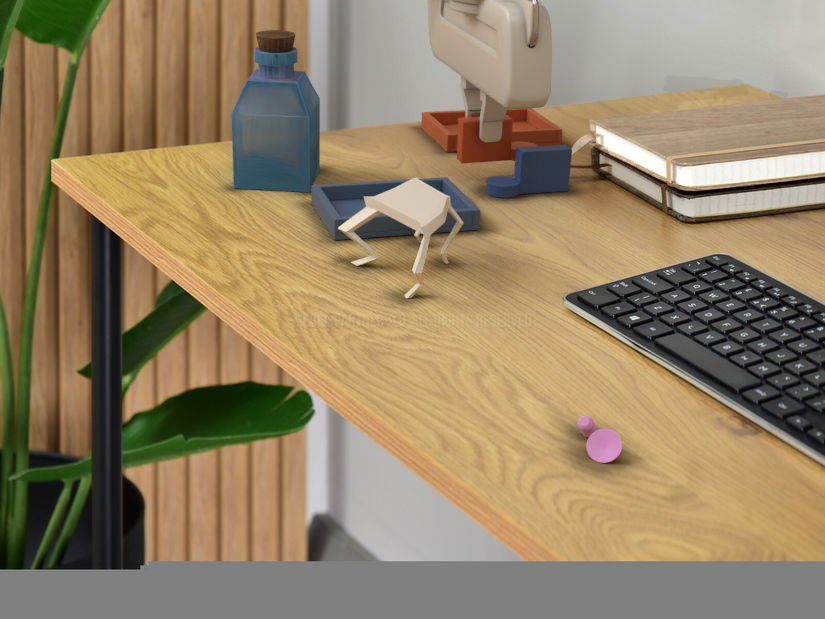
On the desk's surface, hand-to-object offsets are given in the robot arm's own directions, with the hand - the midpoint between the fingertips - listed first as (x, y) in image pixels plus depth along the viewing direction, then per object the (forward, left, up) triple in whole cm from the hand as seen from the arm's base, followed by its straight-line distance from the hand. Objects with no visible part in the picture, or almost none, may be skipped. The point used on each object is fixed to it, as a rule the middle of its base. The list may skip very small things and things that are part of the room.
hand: (482, 135), depth 101 cm
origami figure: (+12, +19, -4) cm, 23 cm away
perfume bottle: (+17, -3, -4) cm, 18 cm away
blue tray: (+10, +8, -4) cm, 13 cm away
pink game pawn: (+9, +44, -4) cm, 45 cm away
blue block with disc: (-3, +4, -4) cm, 6 cm away
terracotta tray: (-5, -12, -4) cm, 14 cm away
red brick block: (-1, 0, -2) cm, 3 cm away
